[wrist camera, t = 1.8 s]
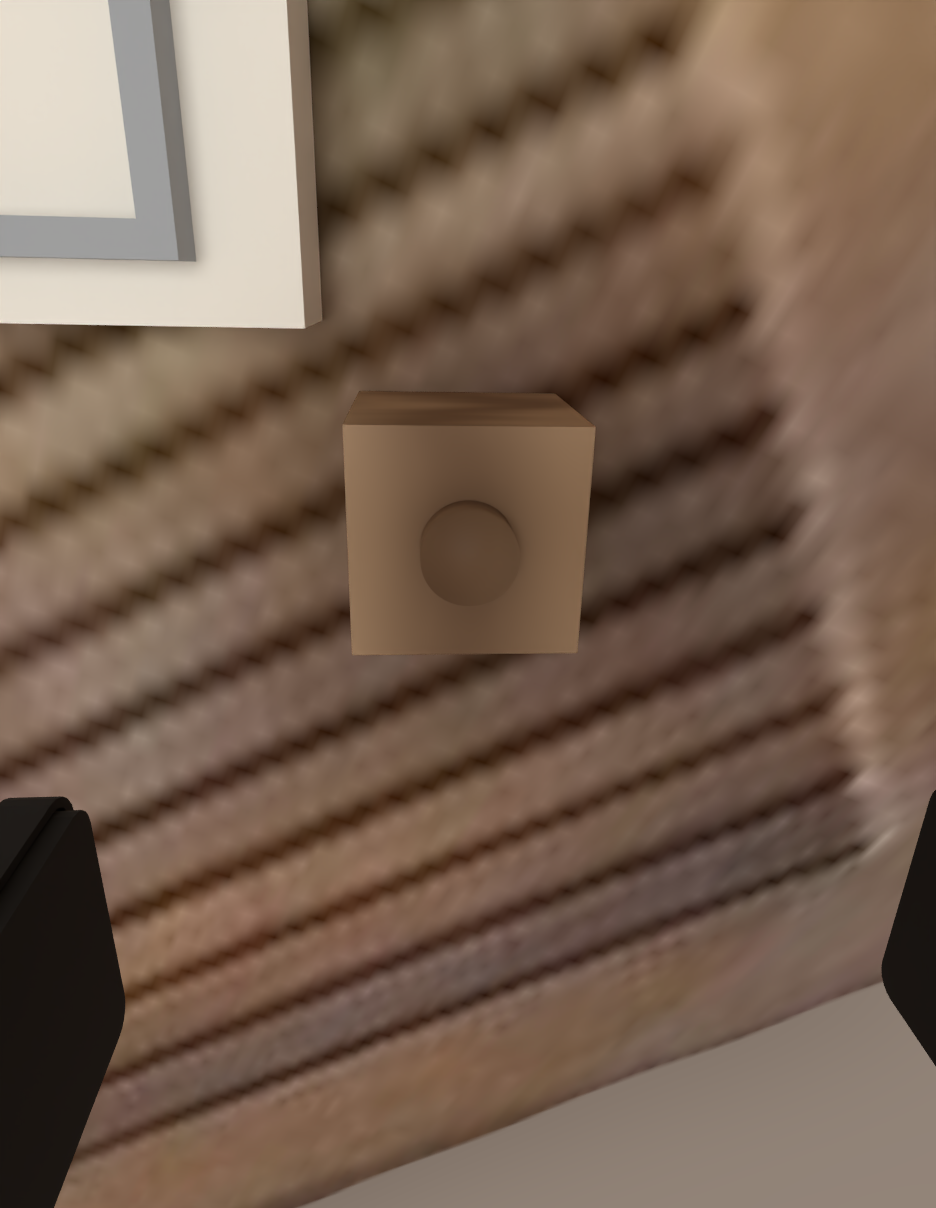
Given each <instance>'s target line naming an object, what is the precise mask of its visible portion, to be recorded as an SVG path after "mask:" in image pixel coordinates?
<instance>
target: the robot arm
mask: <svg viewBox="0 0 936 1208" xmlns="http://www.w3.org/2000/svg"><path fill="white" fill-rule="evenodd" d="M882 978H883V983H884V986H885V989H886V991H887V993H888V995H889V997H890V999H891V1001H892V1002H893V1004H894V1005H895V1007H896V1008H897V1010H898V1011H899V1013H900V1014H901V1015H902V1017H903V1018H904V1020H905V1021H906V1023H907V1024H908V1026H909V1027H910V1029H911V1030H912V1032H913V1033H914V1035H915V1036H916V1037H917V1039H918V1040H919V1042H920V1043H921V1045H922V1046H923V1048H924V1050H925V1051H926V1052H927V1054H928V1055H929V1057H930V1058H931V1060H932V1061H933V1063H934V1064H935V1066H936V790H935V791H934V792H933V794H932V796H931V798H930V801H929V804H928V807H927V811H926V814H925V818H924V821H923V824H922V828H921V831H920V835H919V838H918V841H917V845H916V848H915V852H914V855H913V859H912V862H911V865H910V869H909V872H908V876H907V879H906V882H905V886H904V889H903V893H902V896H901V900H900V903H899V906H898V910H897V913H896V917H895V920H894V923H893V927H892V930H891V934H890V937H889V940H888V944H887V947H886V951H885V954H884V958H883V961H882ZM124 1014H125V995H124V989H123V984H122V979H121V974H120V969H119V964H118V959H117V954H116V949H115V944H114V939H113V934H112V928H111V923H110V918H109V913H108V908H107V903H106V898H105V893H104V888H103V883H102V878H101V873H100V868H99V863H98V857H97V852H96V847H95V842H94V837H93V832H92V827H91V822H90V819H89V816H88V814H87V813H86V812H85V811H83V810H73V807H72V804H71V803H70V801H69V800H68V799H67V798H65V797H28V798H8V799H5V800H3V801H2V802H0V1208H54V1206H55V1203H56V1201H57V1198H58V1196H59V1193H60V1190H61V1188H62V1185H63V1182H64V1180H65V1177H66V1175H67V1172H68V1169H69V1167H70V1164H71V1162H72V1159H73V1156H74V1154H75V1151H76V1149H77V1146H78V1143H79V1141H80V1138H81V1135H82V1133H83V1130H84V1128H85V1125H86V1122H87V1120H88V1117H89V1115H90V1112H91V1109H92V1107H93V1104H94V1102H95V1099H96V1096H97V1094H98V1091H99V1089H100V1086H101V1083H102V1081H103V1078H104V1075H105V1073H106V1070H107V1068H108V1065H109V1062H110V1060H111V1057H112V1055H113V1052H114V1049H115V1047H116V1044H117V1042H118V1039H119V1036H120V1033H121V1030H122V1026H123V1021H124Z"/></svg>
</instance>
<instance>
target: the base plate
mask: <svg viewBox="0 0 936 1208" xmlns="http://www.w3.org/2000/svg"><path fill="white" fill-rule="evenodd" d="M320 321H322V300H321V279H320V258H319V237H318V216H317V195H316V174H315V153H314V133H313V112H312V91H311V70H310V49H309V28H308V7H307V0H0V323H21V324H76V325H132V326H188V327H244V328H300V329H305V328H307V327H309V326H312V325H314V324H316V323H318V322H320Z"/></svg>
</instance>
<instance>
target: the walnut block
mask: <svg viewBox="0 0 936 1208" xmlns="http://www.w3.org/2000/svg"><path fill="white" fill-rule="evenodd" d="M342 426H343V450H344V474H345V498H346V522H347V546H348V570H349V595H350V619H351V643H352V655H427V654H528V653H577V650H578V638H579V625H580V613H581V601H582V589H583V577H584V564H585V552H586V540H587V528H588V515H589V503H590V491H591V479H592V467H593V454H594V442H595V430H596V427H595V426H594V425H592V424H591V423H590V422H589V421H588V420H586V419H585V418H584V417H583V416H582V415H580V414H579V413H578V412H577V411H575V410H574V409H573V408H572V407H571V406H569V405H568V404H567V403H566V402H565V401H563V400H562V399H561V398H560V397H558V396H557V395H556V394H555V393H475V392H391V391H359V393H358V395H357V397H356V399H355V401H354V403H353V405H352V407H351V409H350V411H349V413H348V415H347V417H346V419H345V421H344V423H343V425H342Z"/></svg>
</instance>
